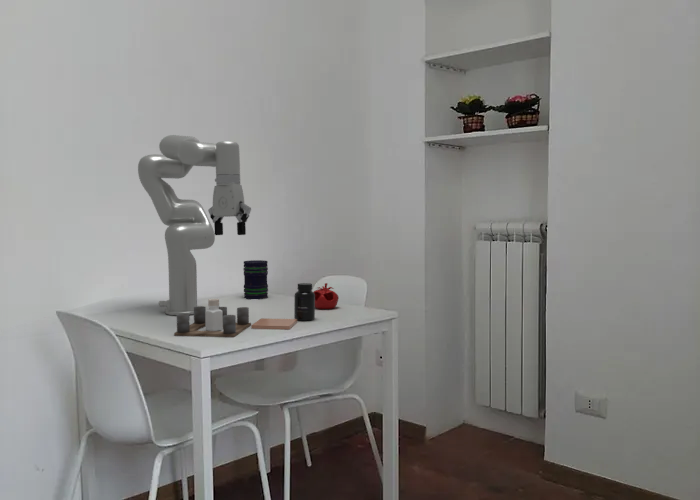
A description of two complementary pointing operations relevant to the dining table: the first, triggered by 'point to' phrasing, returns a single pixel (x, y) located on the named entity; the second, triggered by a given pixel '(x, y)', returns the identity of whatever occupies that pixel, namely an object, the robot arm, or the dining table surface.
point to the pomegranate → (325, 298)
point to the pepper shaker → (213, 316)
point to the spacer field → (228, 331)
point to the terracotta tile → (274, 323)
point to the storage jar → (255, 279)
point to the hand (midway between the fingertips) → (230, 234)
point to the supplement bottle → (304, 303)
